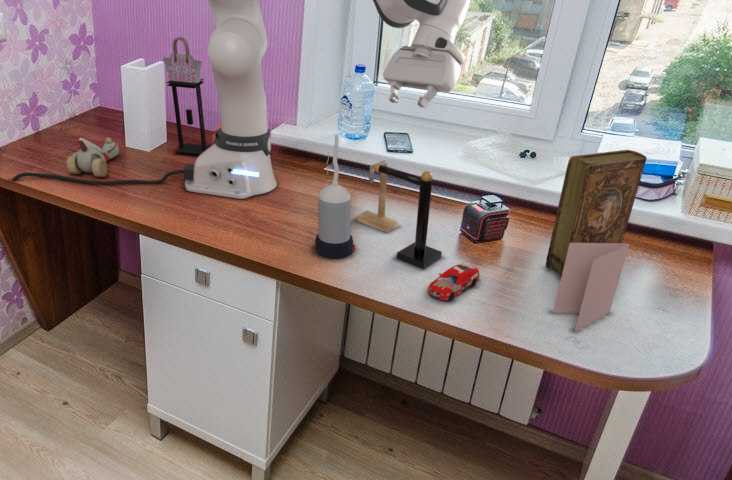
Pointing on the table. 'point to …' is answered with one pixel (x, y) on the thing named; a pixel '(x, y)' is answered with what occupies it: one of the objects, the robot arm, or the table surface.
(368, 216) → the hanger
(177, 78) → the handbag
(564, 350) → the table surface
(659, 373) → the table surface
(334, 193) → the humidifier
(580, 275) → the greeting card
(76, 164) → the toy dog
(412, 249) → the stand
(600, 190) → the book
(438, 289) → the race car
